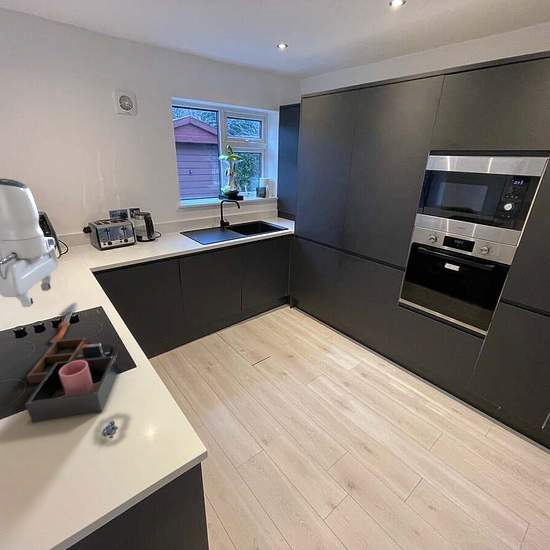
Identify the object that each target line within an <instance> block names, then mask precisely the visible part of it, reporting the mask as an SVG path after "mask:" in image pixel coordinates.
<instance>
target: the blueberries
mask: <svg viewBox="0 0 550 550" xmlns="http://www.w3.org/2000/svg"><path fill="white" fill-rule="evenodd" d="M118 429H119V427H118V426H117V425H115V421H114V420H111V421H110V422H108V423H107V424H106V426H105V427H104V428H102V435H103V437H108V436H109V438H108V439H113V438H114V435H115V434H116V433H117V430H118Z"/></svg>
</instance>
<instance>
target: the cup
mask: <svg viewBox="0 0 550 550" xmlns="http://www.w3.org/2000/svg"><path fill="white" fill-rule="evenodd" d="M59 376H60V379H61V386H62V388H63V391H64V395H65V397H66V396H74V395H81V394H89V393H95V392H96V390H95V385H94V382H93V378H92V377H93V376H91V373H90V370H89V366H88V362H86V361H83V360H78V361H73V362H70V363H68V364H66V365H64V366H63V367H62V368H61V369H60V370H59Z"/></svg>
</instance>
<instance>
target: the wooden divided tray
mask: <svg viewBox="0 0 550 550" xmlns="http://www.w3.org/2000/svg"><path fill="white" fill-rule="evenodd" d="M85 344H87V345H89V344H88V339H87V337H79V338H68V339H61V340H56V341H55V342H54V343H52V344H51V345H50V347H49V348H48V349H47V350H46V352H45V353H44V354H43V356H42V357H41V358H40V359H39V360H38V362H36V364H35V365H34V366H33V367H32V369H31V370H30V371H29V373H28V374H27V375H26V378H27V381H28V384H36V383H38V384H39V383H41V382H42V381H43V379H44V378H45V376H46V375H47V374H48V372H49V371H44V372H43V370H45V368H46V366H48V365H52V364H53V365H54V364H55V363H56V362H63V361H72V360H78V358H79V357H77V356H80V355H81V354H82V352H83V351H82V346H83V345H85ZM66 348H67V349H68V348H75V349H74V351H73V352H68V353H58V354H57V352H58V351H59V350H60V349H66Z"/></svg>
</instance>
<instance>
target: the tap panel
mask: <svg viewBox="0 0 550 550" xmlns="http://www.w3.org/2000/svg"><path fill="white" fill-rule="evenodd" d="M101 346H102V351H103V353H102V355H97V356H87V357H84V354H83V352H82V354H81V355H80V356H77V357H79V358H78V360H81V359H90V358H99V357H109V356H112V353H113V350H114V348H113V347H114V346H113V344H111V343H110V344H101Z"/></svg>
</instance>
